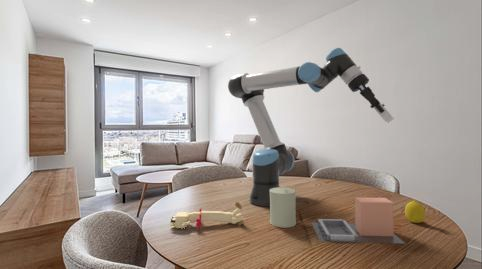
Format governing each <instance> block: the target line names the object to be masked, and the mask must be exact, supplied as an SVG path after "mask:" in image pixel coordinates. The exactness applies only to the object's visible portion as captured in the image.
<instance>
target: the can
mask: <svg viewBox="0 0 482 269" xmlns="http://www.w3.org/2000/svg"><path fill="white" fill-rule="evenodd" d="M269 191H270V206H269V215H270V216H269V223H270V225H271V224H272V225H271V226H272V227H277V228H283V229H284V228H286V229H288V228H294V227H295V226H296V225H297V215H296V214H297V211H296V210H297V209H296V206H297V204H296V194H297V193H296V191H297V190H296V189H294V188H291V187H285V186H284V187H283V186H281V187H277V188H272V189H270V190H269Z"/></svg>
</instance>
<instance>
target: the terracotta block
mask: <svg viewBox="0 0 482 269" xmlns="http://www.w3.org/2000/svg"><path fill="white" fill-rule="evenodd" d="M354 199H355V200H354V207H355V208H354V210H355V211H354V212H355V216H354V217H355V219H354V220H355V222H354V223H355V224H356V230H357V231H358V232H359V233H360V234H361V235H362V236H394V234H395V233H394V202H393V201H392V200H389V199H388V198H386V197H355V198H354Z"/></svg>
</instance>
